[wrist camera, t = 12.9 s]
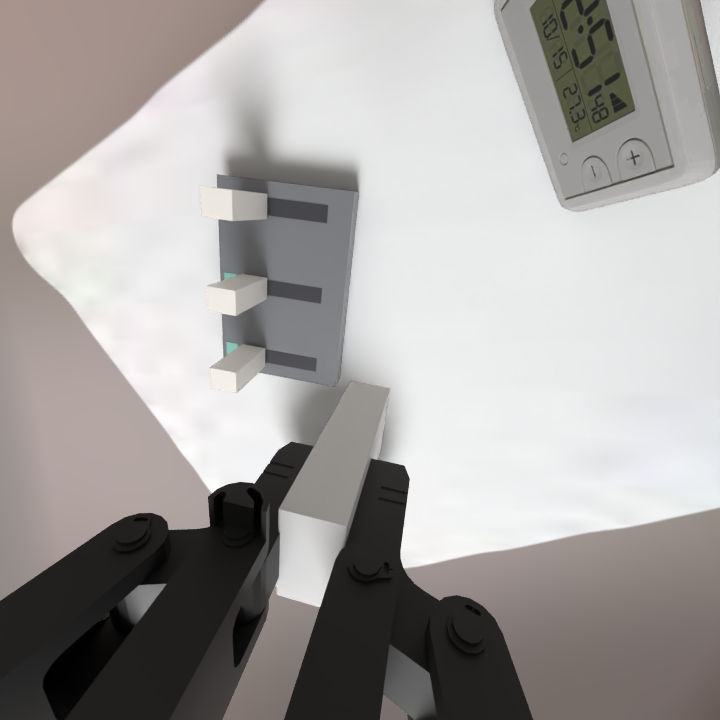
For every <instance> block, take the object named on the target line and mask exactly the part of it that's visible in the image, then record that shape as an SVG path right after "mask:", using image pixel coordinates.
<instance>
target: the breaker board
mask: <svg viewBox="0 0 720 720" xmlns="http://www.w3.org/2000/svg"><path fill="white" fill-rule="evenodd" d="M217 188H223V189H232V190H241V191H249V192H257V193H264V194H267V219H263V220H244V221H228V220H221V219H219V246H220V273H221V281H223V280H226V279H229V278H232V277H235V276H238V275H241V274H247V275H253V276H260V277H266V278H267V299H266V300H264V301H263V302H261V303H259V304H257V305H255V306H253V307H252V308H250V309H248V310H246V311H244V312H242V313H240V314H239V315H237V316H233V315H227V314H222V328H223V355H224V357H225V356H227V355H228V354H230V353H231V352H232V351H234V350H235V349H237V348H238V347H239V346H241V345H242V344H245V345H250V346H256V347H261V348H265V367H264V368H263V369H262V370H261V371H260V372H259V373H264V374H269V375H275V376H280V377H285V378H291V379H296V380H301V381H306V382H312V383H317V384H322V385H328V386H333V387H335V386H336V384H337V382H338V381H339V379H340V369H341V360H342V350H343V341H344V331H345V322H346V312H347V302H348V293H349V283H350V274H351V264H352V255H353V245H354V235H355V226H356V216H357V207H358V197H359V193H358V192H355V191H346V190H338V189H330V188H322V187H314V186H306V185H298V184H290V183H282V182H274V181H265V180H257V179H249V178H241V177H233V176H225V175H217Z"/></svg>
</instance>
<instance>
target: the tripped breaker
mask: <svg viewBox="0 0 720 720" xmlns="http://www.w3.org/2000/svg"><path fill="white" fill-rule="evenodd" d="M206 293H207V311H210V312H215V313H221V314H227V315H233V316H237V315H239V314H240V313H242V312H244V311H246V310H248V309H250V308H252V307H253V306H255V305H257V304H259V303H261V302H263V301H264V300H266V299H267V278H266V277H260V276H253V275H247V274H241V275H238V276H235V277H232V278H229V279H226V280H223V281H220V282H217V283H214V284H211V285H208V286H206Z"/></svg>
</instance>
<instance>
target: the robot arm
mask: <svg viewBox="0 0 720 720" xmlns="http://www.w3.org/2000/svg"><path fill="white" fill-rule="evenodd" d="M389 392H390V388H385V387H380V386H375V385H369V384H364V383H359V382H354V381H351V382H350V383H349V385H348V387H347V389H346V391H345V392H344V394H343V396H342V398H341V399H340V401H339V403H338V405H337V407H336V408H335V410H334V412H333V414H332V415H331V417H330V419H329V421H328V423H327V424H326V426H325V428H324V430H323V431H322V433H321V435H320V437H319V438H318V440H317V442H316V444H315V446H314V447H313V446H309V445H304V444H300V443H295V442H290V443H289V444H287V445H286V446H284V447H282V448H281V449H279V450H278V451H277V453H276V454H275V456H274V457H273V458H272V460H271V461H270V464H268V465H267V467H266V468H265V470H264V472H263V473H262V474H261V475H260V477H259V478H258V480H257V481H256V482H255V484H253V483H246V482H238V483H232V484H228V485H225V486H223V487H221V488H219V489H217V490H216V491H214V492H213V493H212V494H211V495H210V496H209V497H208V502H209V516H210V527H208V528H202V529H191V530H190V529H188V530H168V524H167V522H166V521H165V520H164V519H163V517H161V516H159V515H156V514H153V513H139V514H136V515H132V516H128V517H125V518H123V519H121V520H119V521H118V522H116V523H114V524H112V525H110V526H109V527H108V528H106V529H105V530H103V531H102V532H100V533H99V534H97V535H96V536H94V537H93V538H91V539H90V540H89V541H87V542H86V543H84V544H83V545H81V546H80V547H78V548H77V549H76V550H74V551H73V552H71V553H70V554H68V555H67V556H65V557H64V558H62V559H61V560H59V561H58V562H56V563H55V564H54V565H52V566H51V567H49V568H48V569H46V570H45V571H43V572H42V573H40V574H39V575H38V576H36V577H35V578H33V579H32V580H30V581H29V582H27V583H26V584H24V585H23V586H21V587H20V588H18V589H17V590H16V591H14V592H13V593H11V594H10V595H8V596H7V597H6V598H4V599H3V600H1V601H0V720H222V719H223V717H224V714H225V712H226V710H227V707H228V705H229V703H230V701H231V698H232V696H233V694H234V691H235V689H236V687H237V685H238V682H239V680H240V678H241V675H242V673H243V671H244V669H245V666H246V664H247V662H248V659H249V657H250V654H251V653H252V650H253V648H254V646H255V643H256V641H257V639H258V637H259V634H260V632H261V630H262V628H263V625H264V623H265V621H266V617H267V613H268V609H269V608H268V607H269V598H270V595H271V593H272V591H273V589H274V587H275V585H276V582H277V595H280V596H283V597H287V598H290V599H293V600H297V601H300V602H304V603H307V604H310V605H314V606H317V607H320V609H319V612H318V615H317V619H316V622H315V625H314V628H313V631H312V634H311V637H310V641H309V643H308V647H307V650H306V653H305V656H304V659H303V662H302V665H301V669H300V672H299V675H298V678H297V681H296V684H295V687H294V690H293V693H292V697H291V700H290V703H289V706H288V709H287V712H286V716H285V719H284V720H380V713H381V706H382V697H383V694H384V695H385V696H386V697H387V698H388V699H390V700H391V701H392V702H394V703H395V704H396V705H397V706H398V707H400V708H401V709H402V710H403V711H404V712H406V713H407V715H408V720H533V718H532V715H531V712H530V710H529V707H528V704H527V701H526V698H525V696H524V693H523V690H522V687H521V684H520V681H519V679H518V676H517V673H516V670H515V667H514V664H513V662H512V659H511V656H510V653H509V650H508V648H507V645H506V642H505V639H504V636H503V633H502V632H501V630H500V628H499V626H498V624H497V622H496V620H495V618H494V617H493V616H492V615H491V614H490V613H489V612H488V611H487V610H486V609H485V608H484V607H483V606H482V605H480V604H478V603H477V602H475V601H473V600H472V599H470V598H466V597H461V596H457V595H456V596H450V597H445V598H443V599H442V600H440V601H439V600H438V599H436V598H434V597H433V596H431V595H429V594H428V593H426V592H425V591H423V590H422V589H421V588H419V587H418V586H417V585H415V584H414V583H413V581H411V579H410V578H409V577H408V576H407V574H406V572H405V570H404V568H403V566H402V563H401V559H400V549H401V541H402V534H403V526H404V518H405V511H406V503H407V495H408V488H409V480H410V478H409V476H408V474H407V471H406V469H405V466H403V465H399V464H394V463H390V462H385V461H381V460H378V457H379V454H380V450H381V444H382V438H383V431H384V425H385V418H386V412H387V405H388V399H389Z"/></svg>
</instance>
